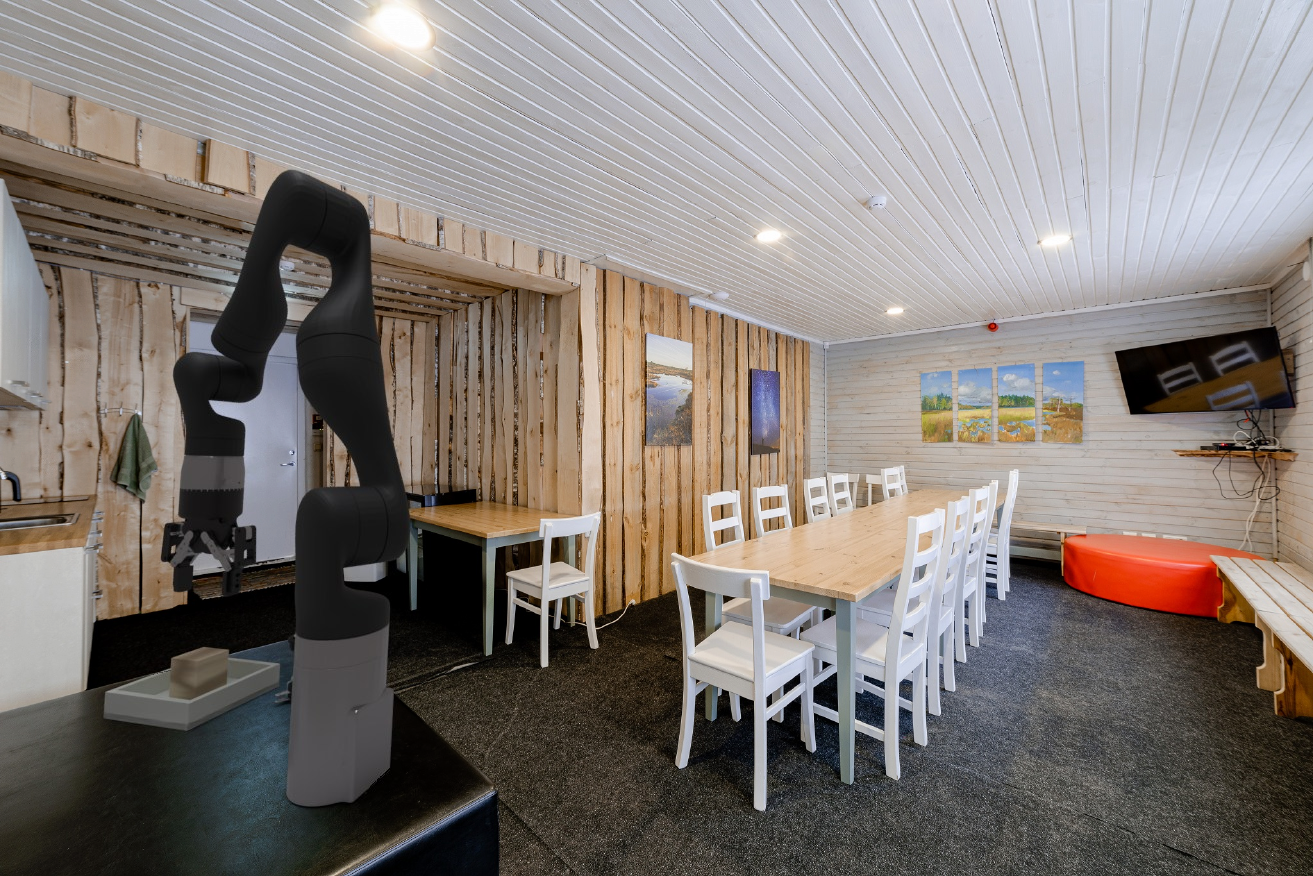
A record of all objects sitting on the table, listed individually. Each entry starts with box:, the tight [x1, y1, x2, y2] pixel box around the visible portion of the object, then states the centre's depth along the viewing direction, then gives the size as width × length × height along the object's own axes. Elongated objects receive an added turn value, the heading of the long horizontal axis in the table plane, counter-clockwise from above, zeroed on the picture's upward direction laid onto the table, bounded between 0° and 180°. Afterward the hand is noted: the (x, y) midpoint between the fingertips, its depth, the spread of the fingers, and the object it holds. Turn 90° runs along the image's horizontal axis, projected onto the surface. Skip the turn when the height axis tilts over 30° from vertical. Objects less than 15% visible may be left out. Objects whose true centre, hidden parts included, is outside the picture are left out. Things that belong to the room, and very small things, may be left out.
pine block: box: [169, 646, 230, 700], centre depth 77 cm, size 4×4×6 cm
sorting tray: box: [103, 657, 281, 732], centre depth 76 cm, size 14×14×4 cm
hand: (206, 593), depth 79 cm, fingers open, 8 cm apart
